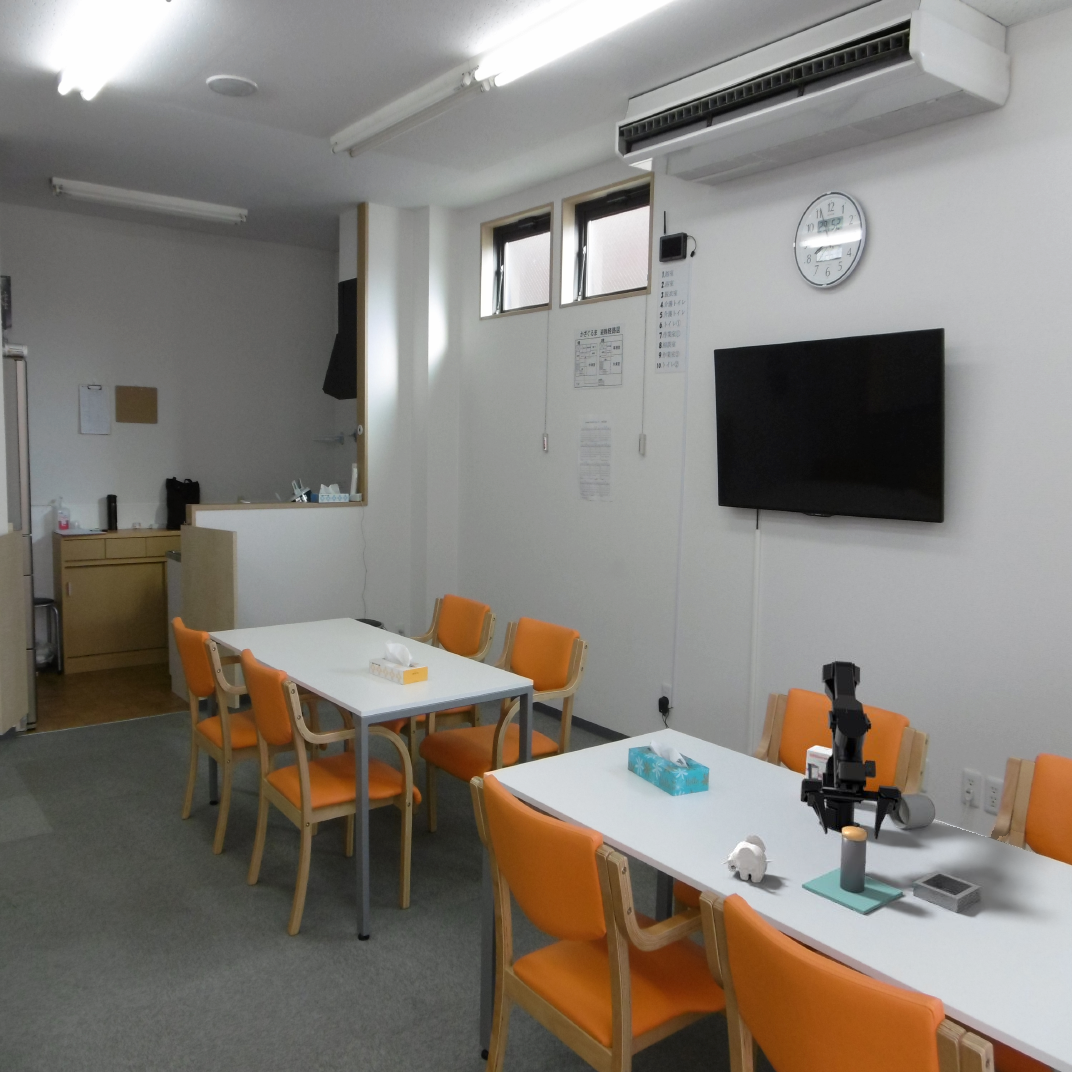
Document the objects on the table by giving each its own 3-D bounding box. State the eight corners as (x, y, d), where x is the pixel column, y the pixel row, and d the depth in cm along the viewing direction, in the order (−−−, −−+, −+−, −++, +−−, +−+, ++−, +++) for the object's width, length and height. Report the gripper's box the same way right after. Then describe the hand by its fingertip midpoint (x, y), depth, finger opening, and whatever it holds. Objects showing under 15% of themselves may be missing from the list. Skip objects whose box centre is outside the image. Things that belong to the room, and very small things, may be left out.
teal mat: (841, 869, 180) (841, 866, 180) (902, 894, 170) (902, 891, 170) (801, 887, 172) (802, 884, 172) (863, 914, 162) (863, 911, 162)
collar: (936, 883, 175) (936, 870, 174) (979, 899, 168) (980, 886, 168) (913, 895, 170) (913, 882, 169) (956, 912, 163) (957, 899, 163)
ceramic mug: (937, 829, 201) (938, 797, 201) (909, 834, 198) (910, 800, 198) (904, 814, 211) (905, 782, 210) (876, 817, 208) (877, 786, 207)
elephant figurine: (726, 863, 182) (728, 828, 182) (775, 873, 178) (776, 837, 178) (717, 878, 175) (718, 842, 175) (767, 889, 171) (769, 852, 171)
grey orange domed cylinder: (856, 881, 173) (859, 825, 173) (869, 892, 169) (871, 834, 168) (835, 883, 173) (837, 826, 172) (847, 893, 168) (849, 836, 168)
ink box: (803, 796, 220) (805, 749, 219) (811, 791, 224) (813, 744, 223) (838, 805, 215) (840, 757, 214) (846, 800, 218) (848, 752, 218)
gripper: (803, 739, 182) (803, 813, 172) (902, 747, 177) (908, 824, 167) (800, 764, 190) (800, 836, 180) (895, 773, 185) (900, 847, 176)
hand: (851, 835), depth 176 cm, fingers open, 9 cm apart
